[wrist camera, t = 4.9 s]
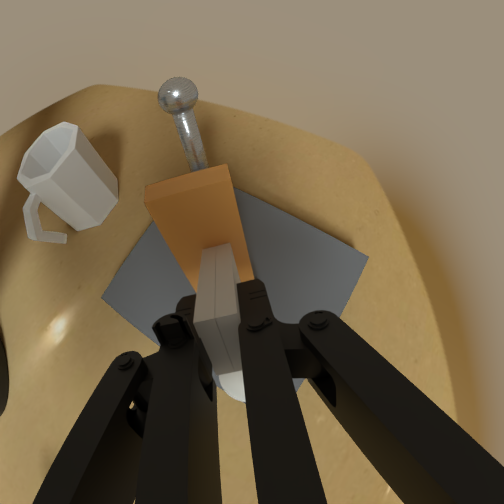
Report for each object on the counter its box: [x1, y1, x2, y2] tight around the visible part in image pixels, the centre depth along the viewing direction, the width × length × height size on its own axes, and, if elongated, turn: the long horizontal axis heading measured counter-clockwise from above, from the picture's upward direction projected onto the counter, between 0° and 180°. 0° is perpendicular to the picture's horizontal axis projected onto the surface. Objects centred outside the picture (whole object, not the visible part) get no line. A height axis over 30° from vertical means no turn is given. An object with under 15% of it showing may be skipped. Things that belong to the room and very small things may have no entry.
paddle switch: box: [144, 163, 257, 293], centre depth 17 cm, size 4×2×12 cm, turn 103°
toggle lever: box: [158, 77, 209, 172], centre depth 20 cm, size 4×3×12 cm
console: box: [101, 187, 369, 404], centre depth 24 cm, size 18×15×3 cm
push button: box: [219, 371, 246, 402], centre depth 19 cm, size 4×4×2 cm
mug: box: [17, 121, 119, 244], centre depth 25 cm, size 12×9×10 cm
